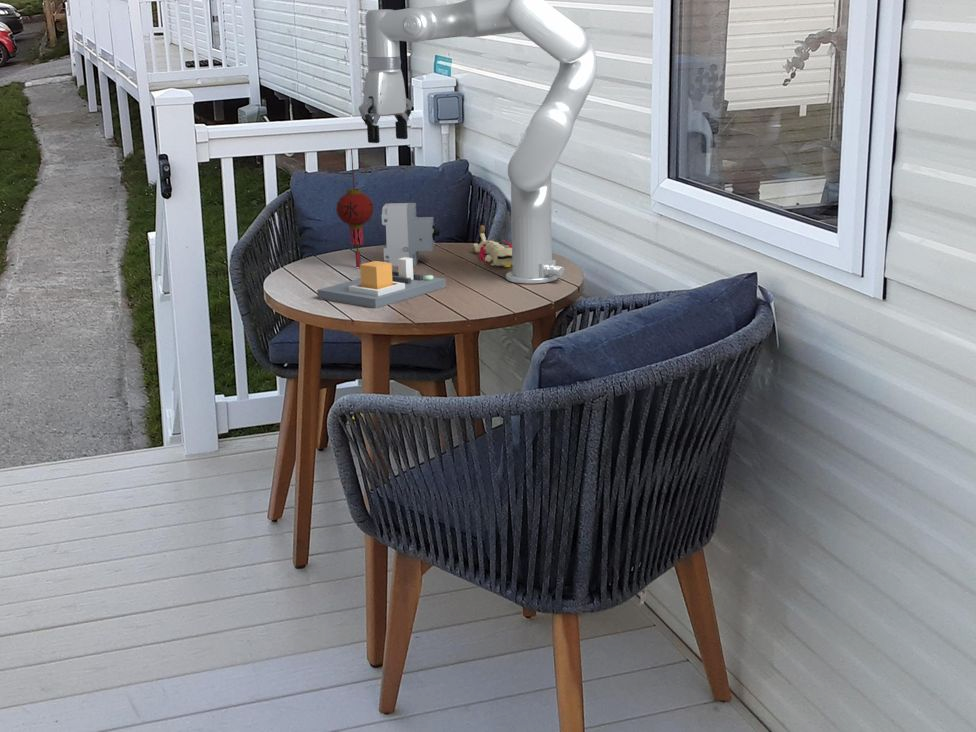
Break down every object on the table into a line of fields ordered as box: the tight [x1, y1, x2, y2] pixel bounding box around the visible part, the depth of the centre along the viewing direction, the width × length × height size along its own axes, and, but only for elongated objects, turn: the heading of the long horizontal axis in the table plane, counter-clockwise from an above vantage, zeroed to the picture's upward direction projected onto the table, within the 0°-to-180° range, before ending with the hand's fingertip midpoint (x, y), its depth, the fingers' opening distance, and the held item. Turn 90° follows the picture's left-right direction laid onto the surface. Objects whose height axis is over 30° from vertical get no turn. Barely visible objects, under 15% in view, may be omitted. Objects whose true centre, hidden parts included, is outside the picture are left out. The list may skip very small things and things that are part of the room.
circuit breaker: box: [381, 202, 441, 267], centre depth 301 cm, size 8×14×15 cm, turn 89°
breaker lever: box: [397, 257, 414, 280], centre depth 272 cm, size 2×2×5 cm
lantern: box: [336, 148, 375, 267], centre depth 294 cm, size 10×10×30 cm
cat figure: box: [471, 224, 512, 268], centre depth 302 cm, size 10×9×25 cm
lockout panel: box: [316, 269, 447, 309], centre depth 270 cm, size 18×24×3 cm
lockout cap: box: [359, 260, 393, 290], centre depth 263 cm, size 5×5×6 cm
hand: (388, 140), depth 274 cm, fingers open, 9 cm apart
